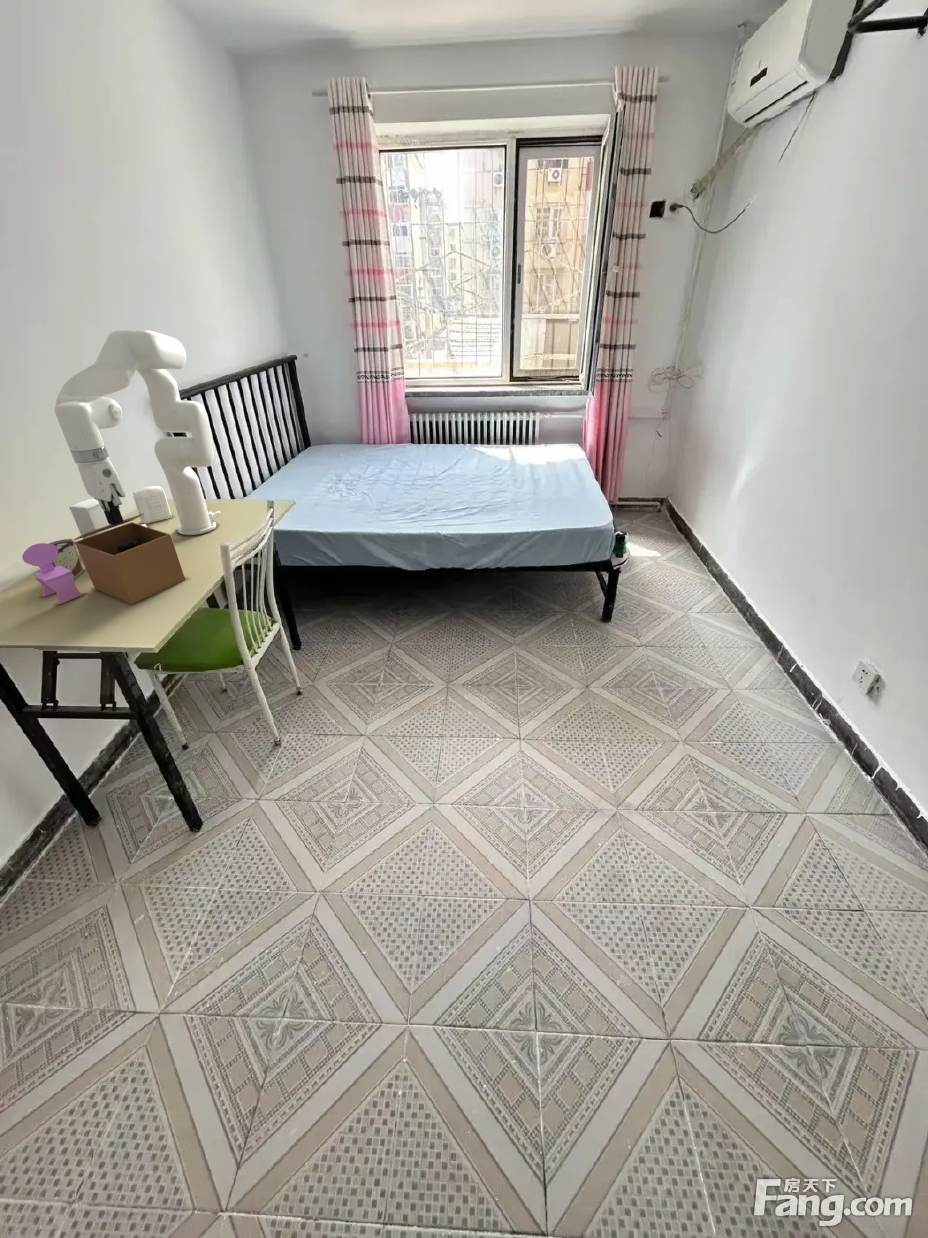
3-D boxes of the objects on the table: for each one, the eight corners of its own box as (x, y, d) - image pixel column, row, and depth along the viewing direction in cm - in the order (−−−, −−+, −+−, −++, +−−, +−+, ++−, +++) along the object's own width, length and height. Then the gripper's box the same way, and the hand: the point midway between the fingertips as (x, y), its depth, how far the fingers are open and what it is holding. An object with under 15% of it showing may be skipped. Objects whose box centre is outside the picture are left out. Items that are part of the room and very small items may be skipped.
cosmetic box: (104, 554, 167) (85, 508, 159) (86, 552, 169) (66, 506, 160) (123, 544, 174) (106, 499, 166) (106, 542, 175) (88, 497, 167)
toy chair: (55, 606, 140) (30, 556, 132) (39, 598, 144) (14, 548, 136) (87, 593, 146) (65, 544, 138) (71, 585, 150) (48, 537, 142)
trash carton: (94, 588, 149) (74, 542, 141) (148, 565, 161) (132, 522, 153) (132, 604, 142) (113, 556, 134) (185, 579, 153) (170, 534, 146)
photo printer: (169, 514, 197) (159, 482, 190) (174, 517, 194) (163, 485, 187) (140, 521, 191) (128, 489, 184) (144, 525, 188) (132, 491, 181)
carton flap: (74, 540, 141) (73, 539, 141) (131, 520, 153) (130, 519, 153) (85, 534, 136) (85, 533, 136) (144, 514, 148) (143, 513, 147)
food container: (65, 568, 159) (51, 538, 154) (86, 568, 160) (73, 537, 154) (41, 588, 149) (25, 556, 143) (63, 587, 149) (48, 556, 144)
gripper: (122, 455, 131) (146, 523, 141) (88, 447, 137) (113, 513, 147) (92, 462, 126) (119, 533, 135) (58, 454, 132) (86, 522, 142)
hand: (116, 522), depth 141 cm, fingers closed
